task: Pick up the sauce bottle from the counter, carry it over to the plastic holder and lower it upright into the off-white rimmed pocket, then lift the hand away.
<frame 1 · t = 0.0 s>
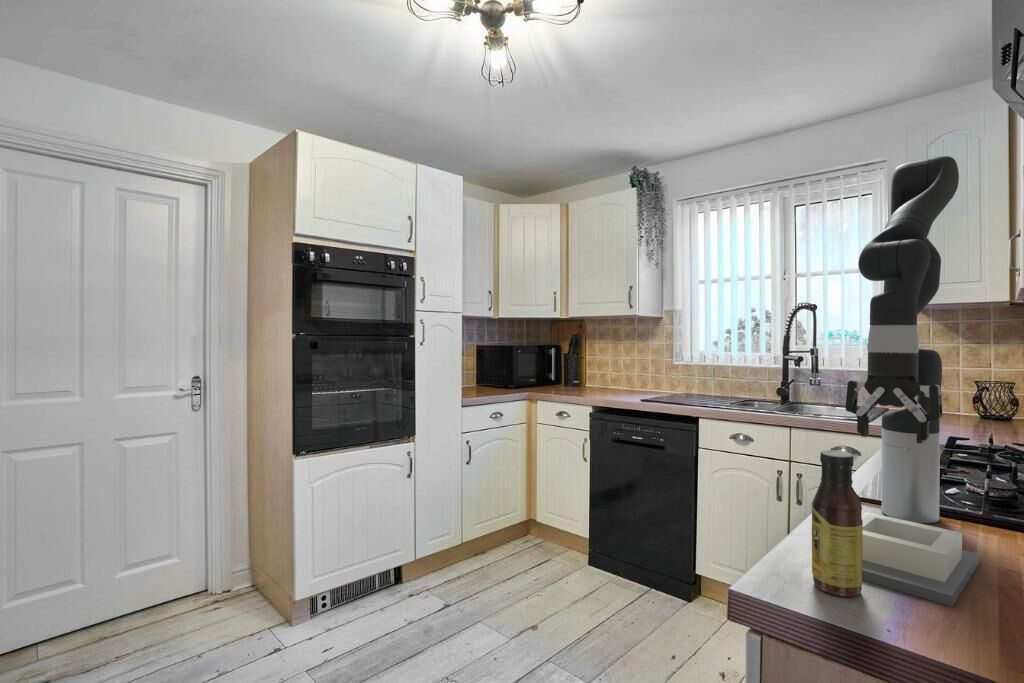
hand: (891, 439, 97), 17 cm above the worktop, tool pointing down, fingers open, 8 cm apart
sauce bottle: (836, 590, 77), on the worktop
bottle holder: (900, 565, 84), on the worktop
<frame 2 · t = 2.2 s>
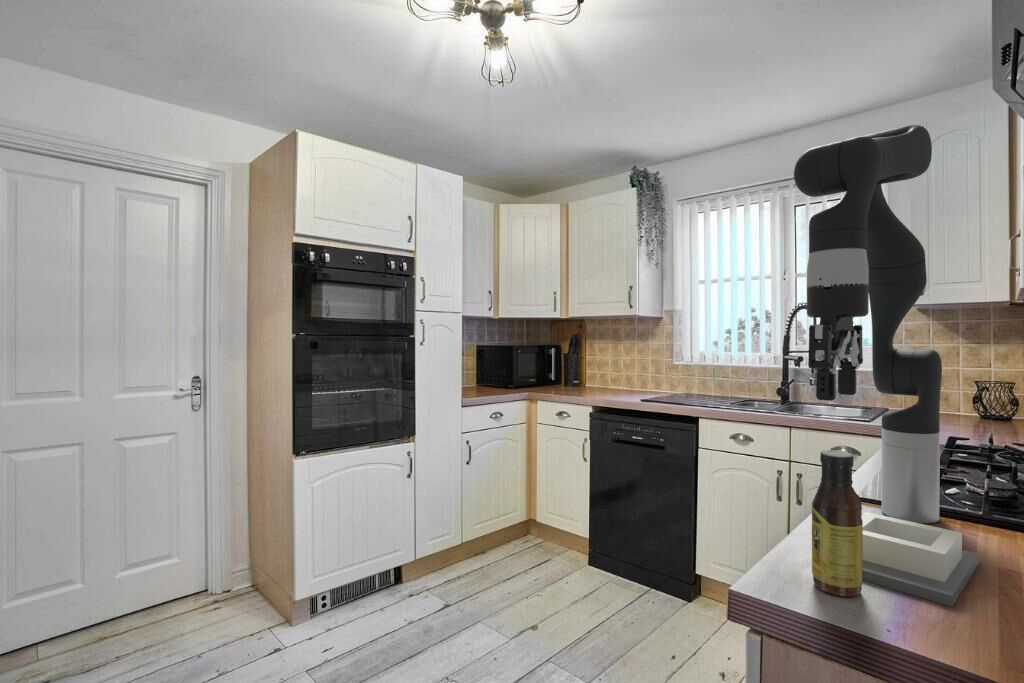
hand: (836, 397, 76), 28 cm above the worktop, tool pointing down, fingers open, 8 cm apart
nothing on the worktop moved.
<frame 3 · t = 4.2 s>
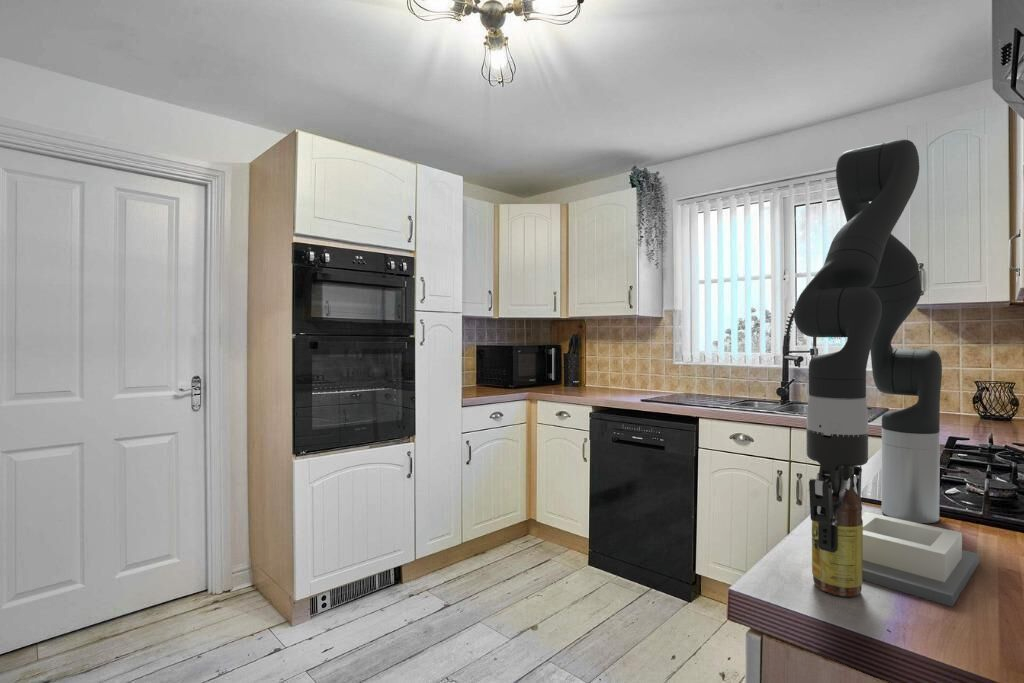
hand: (836, 543, 77), 7 cm above the worktop, tool pointing down, fingers closed on sauce bottle, 6 cm apart
sauce bottle: (836, 590, 77), on the worktop, touching gripper
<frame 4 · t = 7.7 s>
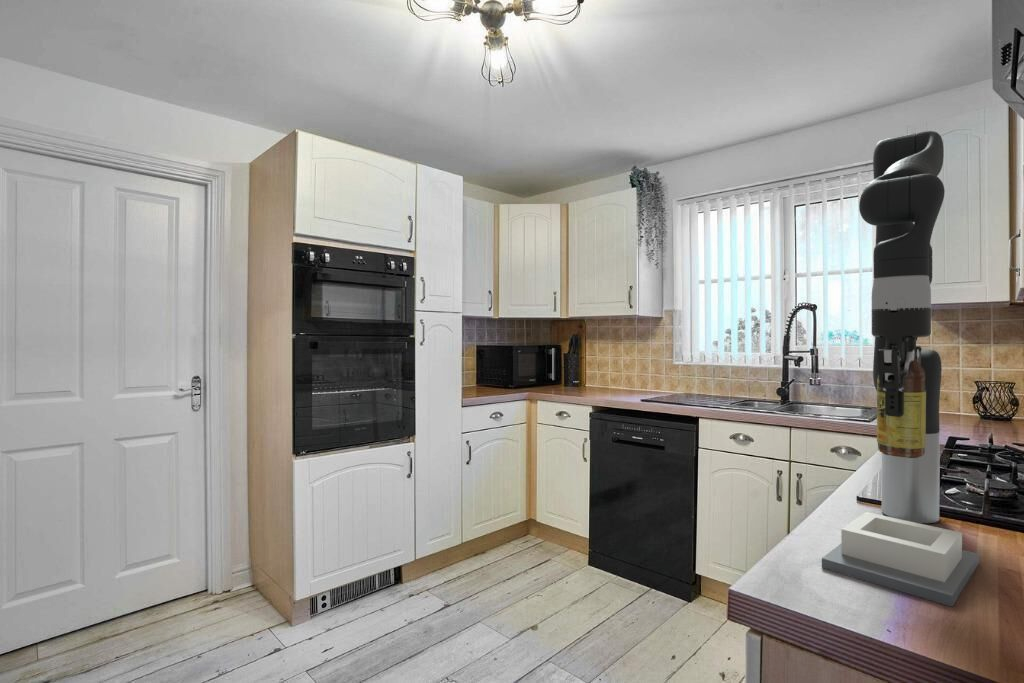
hand: (900, 412, 84), 24 cm above the worktop, tool pointing down, fingers closed on sauce bottle, 6 cm apart
sauce bottle: (900, 455, 84), point 17 cm above the worktop, touching gripper
when the fingers open (10 cm above the worktop, at t = 10.8 s): sauce bottle drops 1 cm, resting on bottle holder.
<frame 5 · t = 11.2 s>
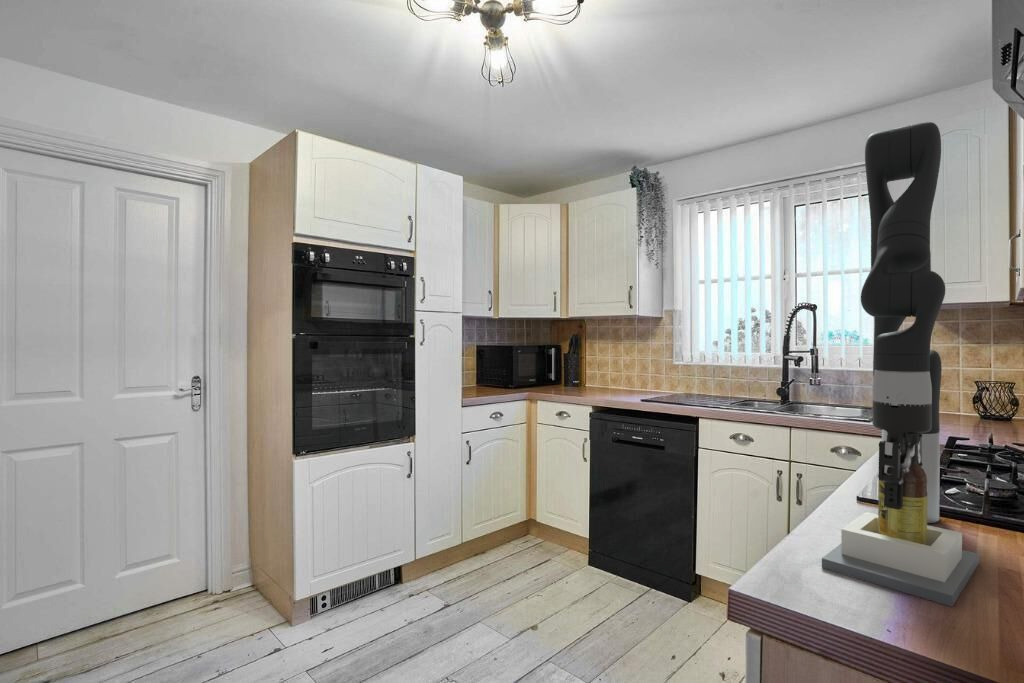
hand: (901, 501, 84), 10 cm above the worktop, tool pointing down, fingers open, 8 cm apart
sauce bottle: (901, 556, 84), point 1 cm above the worktop, touching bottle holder
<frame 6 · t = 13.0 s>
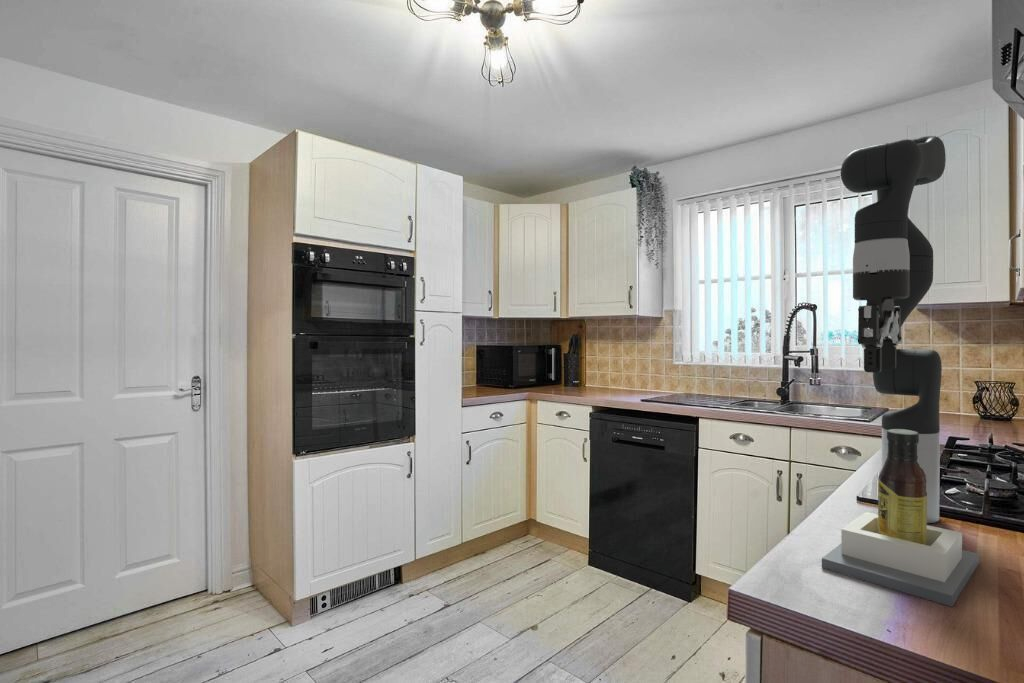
hand: (880, 370, 86), 31 cm above the worktop, tool pointing down, fingers open, 8 cm apart
nothing on the worktop moved.
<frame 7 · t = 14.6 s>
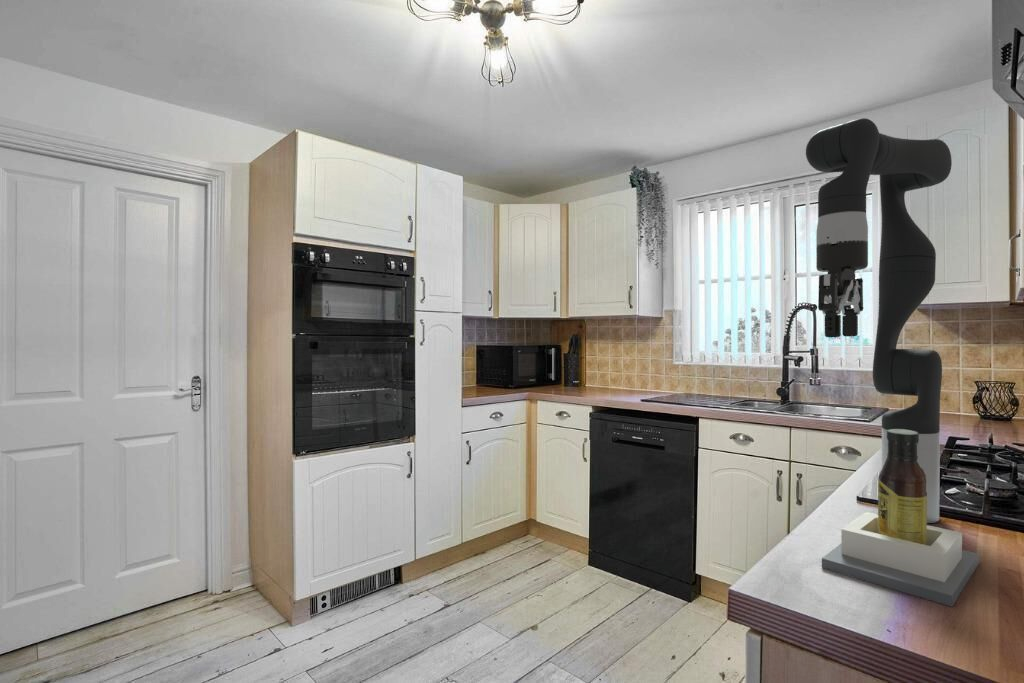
hand: (841, 336, 92), 36 cm above the worktop, tool pointing down, fingers open, 8 cm apart
nothing on the worktop moved.
at the end: sauce bottle 0.3 cm off-centre on the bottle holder, point 1.3 cm above the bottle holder's base; sauce bottle tilted 0°; the gripper is holding nothing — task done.
